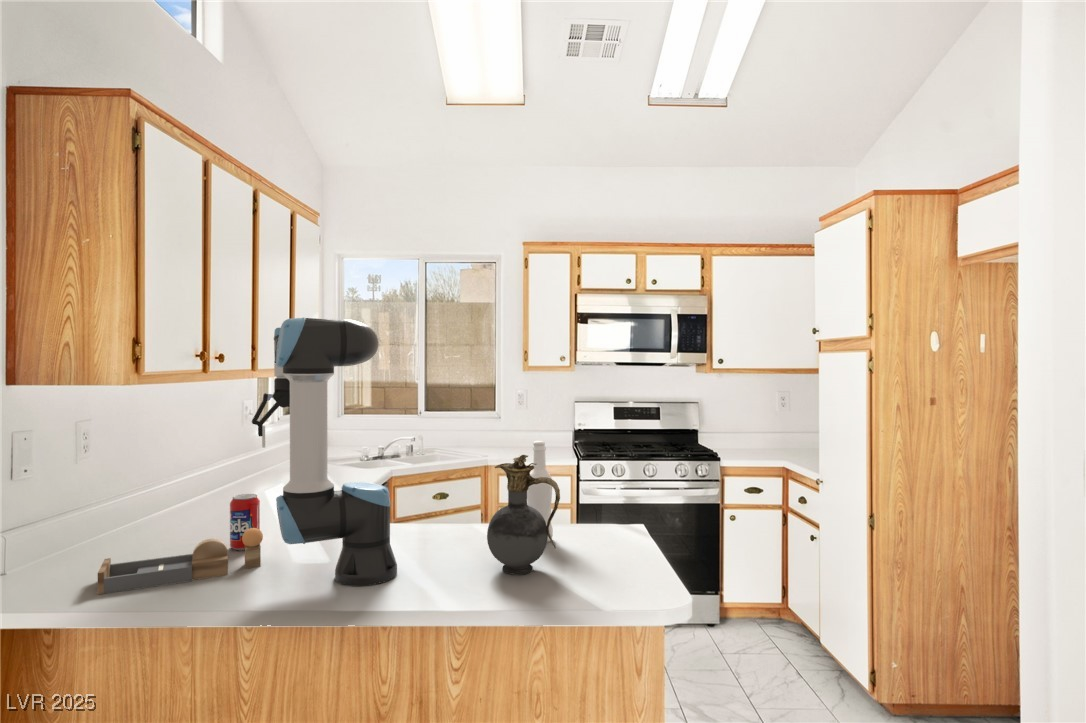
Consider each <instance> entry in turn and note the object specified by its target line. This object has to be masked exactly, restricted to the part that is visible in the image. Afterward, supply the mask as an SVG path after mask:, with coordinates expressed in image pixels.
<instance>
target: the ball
mask: <svg viewBox="0 0 1086 723" xmlns="http://www.w3.org/2000/svg"><path fill="white" fill-rule="evenodd" d="M263 537H264V534H263V532H262V531H261V529H260V530H259V529H257V528H250V529H248V530H246V531H245V532H244V534H243V536H242V541H243V543H244V545H245V546H247V547H255V546H258V545H259V544H260V545H261V543H262V542H263V540H264V538H263Z"/></svg>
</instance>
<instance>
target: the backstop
mask: <svg viewBox="0 0 1086 723" xmlns="http://www.w3.org/2000/svg"><path fill="white" fill-rule="evenodd" d="M110 564H112V563H111V557H110V558H104V560H103V562H102V563H101V565H100V567H99V570H98V572H97V595H105V594H104V578H106V577H110Z"/></svg>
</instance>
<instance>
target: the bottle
mask: <svg viewBox="0 0 1086 723" xmlns="http://www.w3.org/2000/svg"><path fill="white" fill-rule="evenodd" d="M532 444H533V448H532V450H533V462H532V463H534V464H536V465H534V464H532V465H533V466H534V469H533V470H531V471H530V476H532V477H533V478H539V477H548V478H551V479H552V480H553V478H552V476H551V474H550V472H549V471H548V470H547V467H546V450H547V449H546V445H545V444H546V442H545V441H543V440H534V441H533V443H532ZM552 498H553V487H552V486H551V485H549V484H547V483H539V484H533V485H531V486H529V488H528V490H527V505H528V506H531V507H533V508H534V509H536V510H537V511H538V512H540V514H541V515H542V516H543V518H544V520H545V522H546V525H547V522H548V519H549V517H550V515H551V512H552ZM553 531H554V530H553V526H552V521H551V522H550V525H549V532H550V535H551V538H552V539H553V534H554V533H553ZM549 542H551V540H550V539H549V537H548V539H547V544H549Z"/></svg>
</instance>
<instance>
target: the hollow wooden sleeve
mask: <svg viewBox="0 0 1086 723" xmlns="http://www.w3.org/2000/svg"><path fill="white" fill-rule="evenodd" d="M261 549H262V548H261V543H260V544H259V545H258V546H255V547H247V546H245V550H244V568H245V569H250V568H257V567H258V568H259V567H261V566H262V565H261V562H262V560H261V558H262V557H261V555H262V554H261V553H262V552H261Z"/></svg>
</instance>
